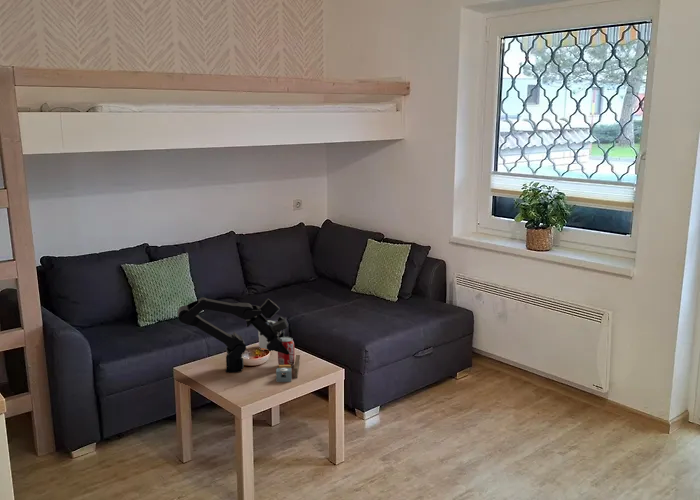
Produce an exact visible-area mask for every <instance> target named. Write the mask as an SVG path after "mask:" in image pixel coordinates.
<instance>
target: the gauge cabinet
mask: <svg viewBox="0 0 700 500" xmlns="http://www.w3.org/2000/svg"><path fill="white" fill-rule="evenodd" d="M292 370H293V369H292V367H291V368H279V367H277V368H276V371H275V381H276V383H291V382H292V377H293V376H292V375H293V374H292V373H293V372H292ZM283 373H286V374H283Z"/></svg>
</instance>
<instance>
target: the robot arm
mask: <svg viewBox="0 0 700 500" xmlns="http://www.w3.org/2000/svg"><path fill="white" fill-rule="evenodd" d="M280 309H281V308H280V306H279V305H277V304H276V302H274V301H273V300H271V299H270V298H267V299H265V301H264V302H263V303H262V304H261V305H260V306H259V305H253V304H251V303H249V302H236V303H233V302H227V301H221V300H216V299H211V298H206V297H203V296H202V297H200V298H198V299H197V300H194V301H192V302H190V303H188V304H186V305H182V306H180V307H179V308H178V309H177V318H178V319H177V320H179V322H180V323H181V324H184V325H187V326H188V327H195V328H197V329H198V330H201V331H202V332H204V333H206V334H207V335H209V336H210V337H212V338H214V339H215V340H218V341H220V342H221V343H223V344H224V345H225V346H226V347H225V351H226V356H225V363H226V364H225V367H226V369H225V373H241V372H242V371H243V369H244V358H243V354H244V353H245V352H246V350H247V345H246V344H245V340H244V338H243V336H242V335H239V334H237V333H236V332H235V331H233V333H232V334H231V333H228V332H226V331H224V330H222V329H220V328H219V327H218V326H216V325H214V324H213V323H211V322H209V321H207V320H206V319H204V318H202V317H201V316H200V315H199V314H201V312H203V310H209V311H214V312H215V311H216V312H219V313H226V314H231V315H234V316H235V317H237V318H240V319H243V320H245V321H246V328H249V327H250V326H253V328H255V329H256V331H257V332H258V331H259V332H260V335H263V336H264V337H265V338H266V339H267V342H268V343H267V349H268V350H269V352H277V353H278V352H280V353H283V354H287V355H288V354H289V352H288V350H287V349H286V348H285V346H284V345H283V344H282V339H280V338H281V337H286V336H285V330H286V329H288V326H289V324H288V321H287V319H286V318H285V317H283V316H278V317H277V320H276V321H274V322H275V323H272V322H268V321H267V319H272V318H273V317H274V316H275V315H276V314H277V313H278V312H279V311H280Z"/></svg>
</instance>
